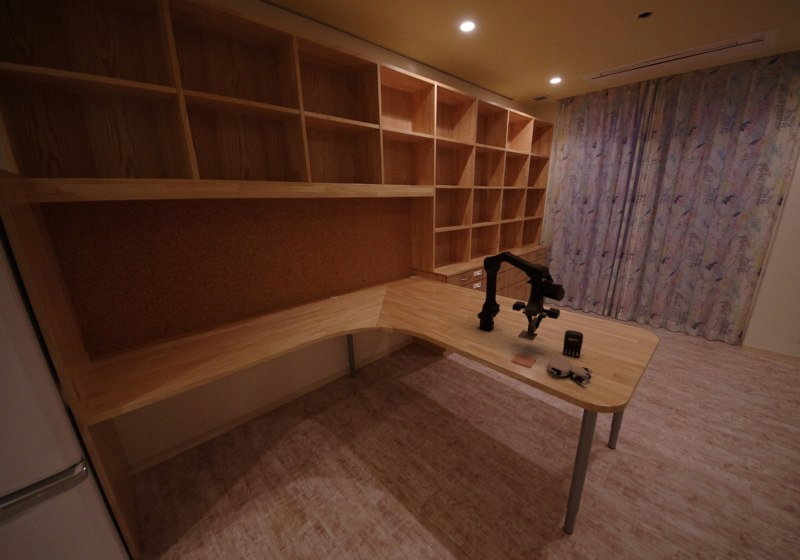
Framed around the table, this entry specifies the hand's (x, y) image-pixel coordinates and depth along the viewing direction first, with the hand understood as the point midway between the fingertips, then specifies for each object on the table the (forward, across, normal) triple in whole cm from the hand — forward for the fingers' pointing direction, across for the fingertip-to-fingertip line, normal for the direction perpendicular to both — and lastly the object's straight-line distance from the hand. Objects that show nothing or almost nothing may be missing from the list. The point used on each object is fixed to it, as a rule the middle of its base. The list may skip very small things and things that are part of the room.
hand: (533, 327), depth 132 cm
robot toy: (+11, +18, -13) cm, 24 cm away
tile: (+11, +1, -9) cm, 14 cm away
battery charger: (+11, +16, +4) cm, 19 cm away
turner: (+1, 0, -4) cm, 4 cm away
